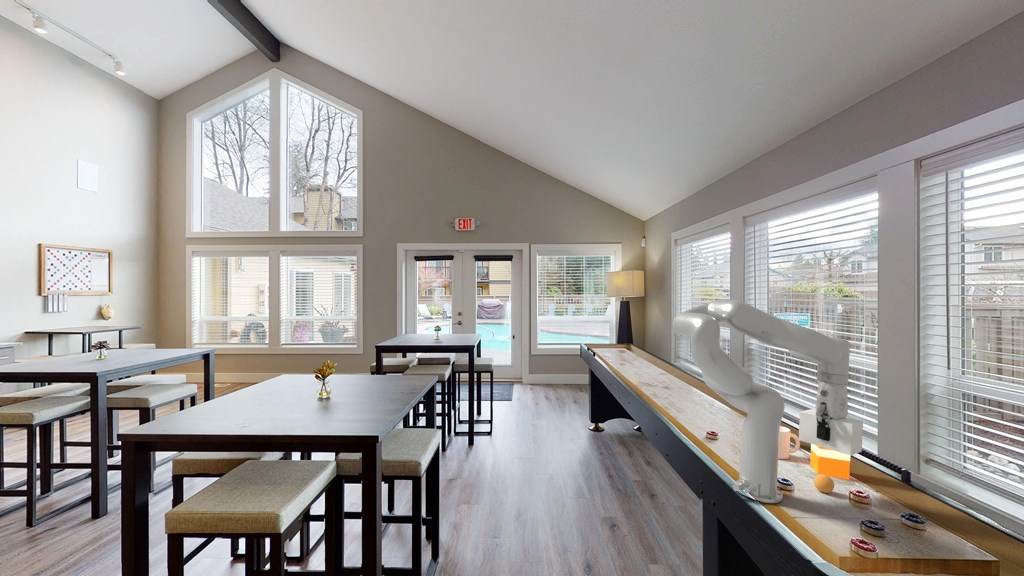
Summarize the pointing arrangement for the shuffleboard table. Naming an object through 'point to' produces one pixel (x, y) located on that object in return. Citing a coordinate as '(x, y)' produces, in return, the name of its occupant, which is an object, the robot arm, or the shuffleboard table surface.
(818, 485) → the ball
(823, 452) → the orange juice
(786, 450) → the mug
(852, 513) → the shuffleboard table surface
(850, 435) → the frosted white brick
